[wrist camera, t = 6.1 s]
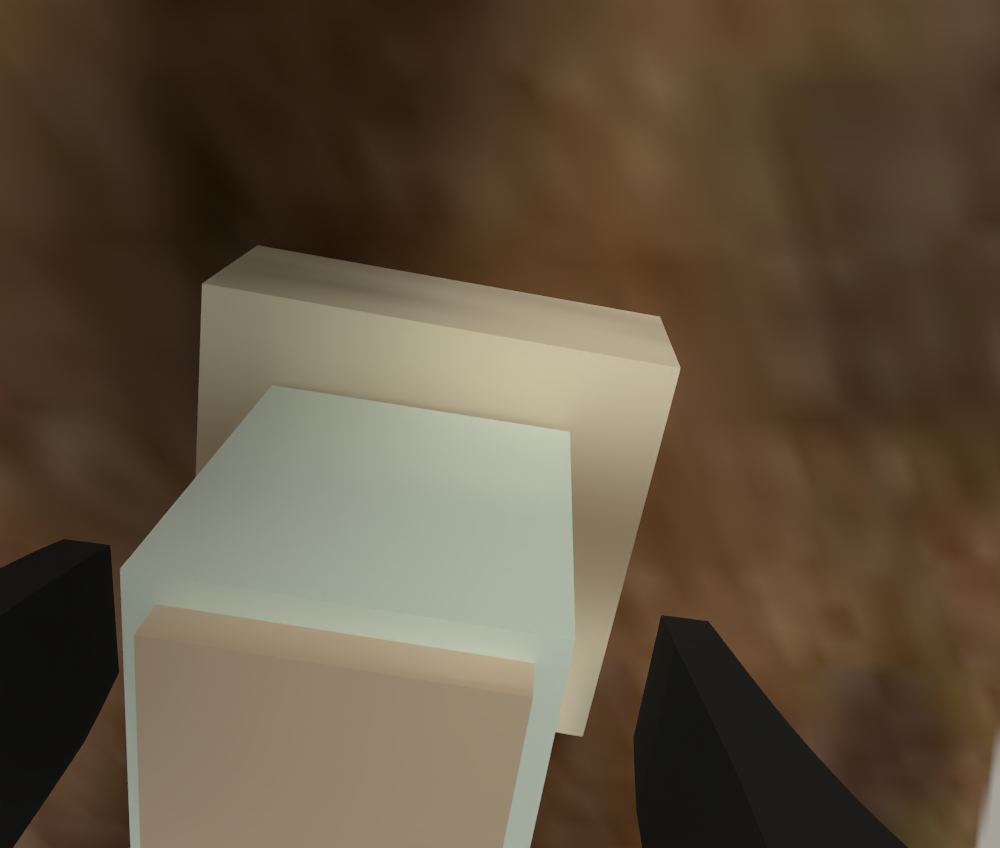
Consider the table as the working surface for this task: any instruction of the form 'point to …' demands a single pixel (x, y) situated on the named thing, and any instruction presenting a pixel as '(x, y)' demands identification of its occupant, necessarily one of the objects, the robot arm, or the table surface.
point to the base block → (458, 388)
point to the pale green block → (351, 633)
